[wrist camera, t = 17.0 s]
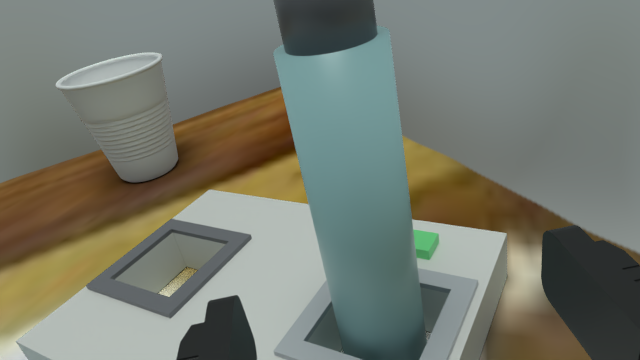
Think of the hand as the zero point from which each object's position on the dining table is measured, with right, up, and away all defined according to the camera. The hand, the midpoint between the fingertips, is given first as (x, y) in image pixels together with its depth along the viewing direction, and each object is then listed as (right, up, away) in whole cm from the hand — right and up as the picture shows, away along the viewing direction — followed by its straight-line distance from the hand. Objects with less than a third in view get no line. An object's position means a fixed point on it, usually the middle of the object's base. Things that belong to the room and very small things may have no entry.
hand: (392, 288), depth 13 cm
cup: (-20, +4, +39) cm, 44 cm away
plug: (+1, -6, +11) cm, 13 cm away
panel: (-5, -6, +15) cm, 17 cm away
